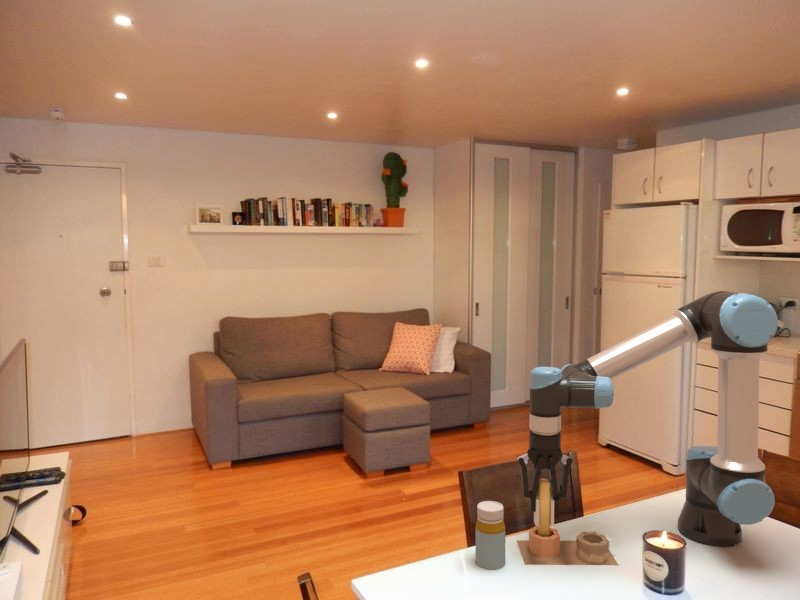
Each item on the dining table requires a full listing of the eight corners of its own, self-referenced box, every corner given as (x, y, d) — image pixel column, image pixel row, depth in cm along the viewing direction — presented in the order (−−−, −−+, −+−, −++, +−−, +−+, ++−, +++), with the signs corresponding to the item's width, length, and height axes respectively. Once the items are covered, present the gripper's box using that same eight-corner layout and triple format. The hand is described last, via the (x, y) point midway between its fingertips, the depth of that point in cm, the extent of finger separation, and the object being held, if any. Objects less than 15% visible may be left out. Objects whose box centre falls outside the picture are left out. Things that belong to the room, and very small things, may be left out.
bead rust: (555, 543, 152) (555, 526, 152) (561, 557, 145) (561, 539, 145) (527, 543, 153) (527, 526, 152) (532, 557, 146) (532, 539, 145)
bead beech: (602, 549, 149) (602, 531, 149) (611, 563, 142) (611, 545, 142) (574, 549, 149) (574, 531, 149) (581, 563, 142) (581, 545, 142)
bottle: (507, 562, 146) (507, 502, 145) (502, 576, 139) (502, 514, 138) (478, 557, 148) (478, 498, 147) (472, 572, 141) (472, 510, 140)
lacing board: (603, 545, 153) (603, 540, 153) (618, 569, 142) (618, 564, 141) (516, 544, 154) (516, 540, 154) (524, 569, 142) (524, 564, 142)
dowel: (548, 540, 150) (549, 478, 149) (550, 546, 147) (551, 483, 146) (536, 540, 150) (537, 478, 149) (538, 546, 147) (539, 483, 146)
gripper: (574, 426, 150) (572, 517, 152) (509, 426, 151) (509, 517, 152) (582, 435, 143) (580, 531, 144) (514, 435, 143) (513, 530, 145)
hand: (543, 523), depth 148 cm, fingers closed on dowel, 3 cm apart
